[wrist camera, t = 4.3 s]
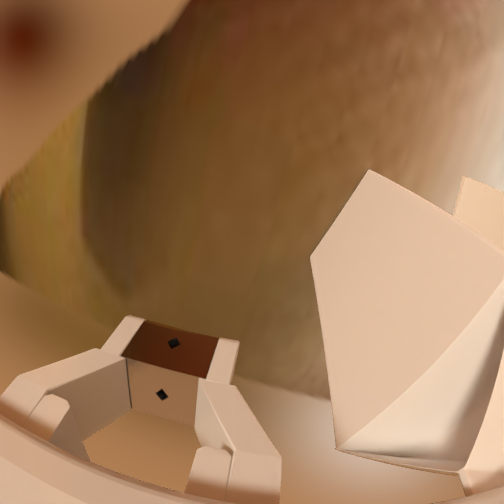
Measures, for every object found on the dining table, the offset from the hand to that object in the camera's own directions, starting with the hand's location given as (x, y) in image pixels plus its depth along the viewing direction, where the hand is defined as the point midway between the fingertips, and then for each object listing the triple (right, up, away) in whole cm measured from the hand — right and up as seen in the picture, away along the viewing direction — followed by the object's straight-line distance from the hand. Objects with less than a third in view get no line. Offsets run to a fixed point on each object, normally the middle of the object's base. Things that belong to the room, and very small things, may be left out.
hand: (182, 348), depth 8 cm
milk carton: (+11, +3, +13) cm, 17 cm away
